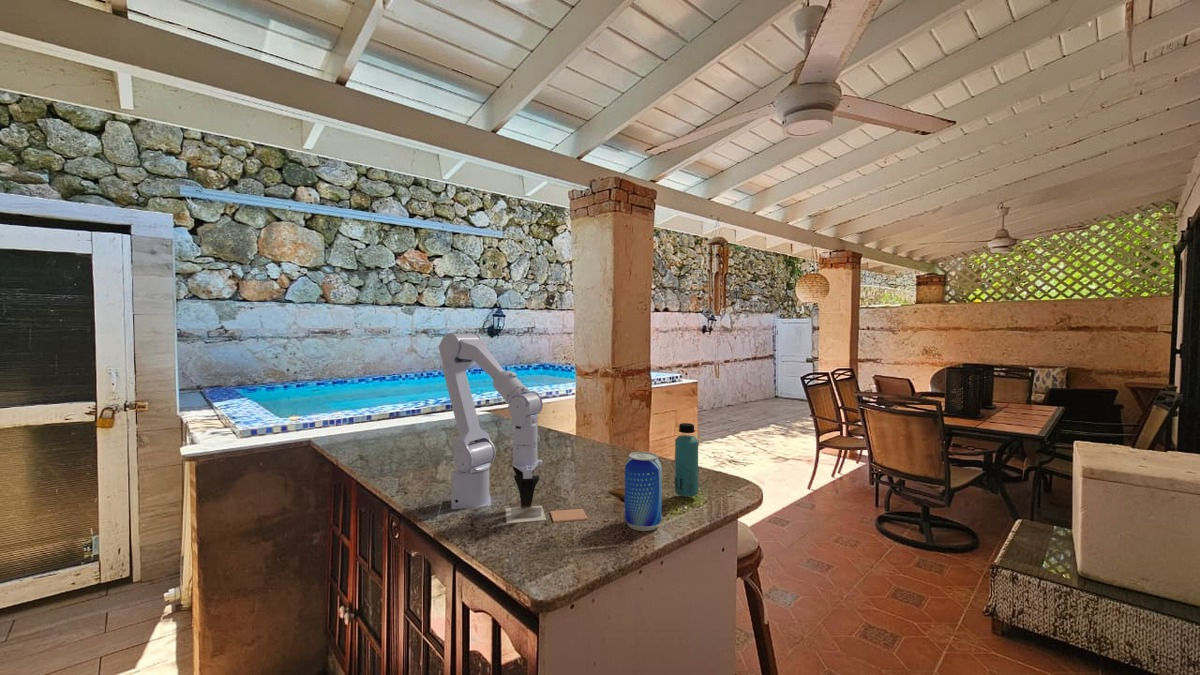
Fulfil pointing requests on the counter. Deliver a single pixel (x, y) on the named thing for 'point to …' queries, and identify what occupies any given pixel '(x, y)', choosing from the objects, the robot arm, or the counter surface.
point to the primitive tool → (619, 493)
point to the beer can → (643, 491)
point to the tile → (568, 515)
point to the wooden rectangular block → (525, 511)
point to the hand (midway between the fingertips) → (525, 499)
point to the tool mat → (523, 519)
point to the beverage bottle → (686, 462)
